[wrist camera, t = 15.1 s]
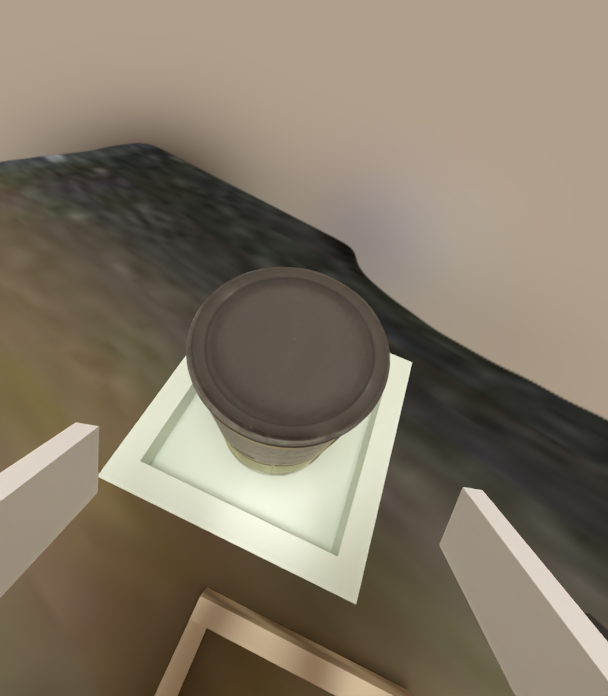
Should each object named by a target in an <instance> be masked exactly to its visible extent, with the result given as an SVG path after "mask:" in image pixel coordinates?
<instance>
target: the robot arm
mask: <svg viewBox="0 0 608 696" xmlns="http://www.w3.org/2000/svg"><path fill="white" fill-rule="evenodd" d="M98 447H99V426H94V425H88V424H82V423H74V424H73V425H71V426H70V427H68V428H67V429H65V430H64V431H62V432H61V433H59V434H58V435H56V436H55V437H53V438H52V439H50V440H49V441H47V442H46V443H44V444H43V445H41V446H40V447H38V448H37V449H35V450H34V451H32V452H31V453H29V454H28V455H26V456H25V457H23V458H22V459H20V460H19V461H17V462H16V463H14V464H13V465H11V466H10V467H8V468H7V469H5V470H4V471H2V472H1V473H0V598H1V597H2V596H3V594H4V593H5V592H6V591H7V590H8V589H9V588H10V587H11V586H12V585H13V584H14V583H15V581H16V580H17V579H18V578H19V577H20V576H21V575H22V574H23V573H24V572H25V571H26V570H27V568H28V567H29V566H30V565H31V564H32V563H33V562H34V561H35V560H36V559H37V558H38V557H39V555H40V554H41V553H42V552H43V551H44V550H45V549H46V548H47V547H48V546H49V545H50V544H51V543H52V541H53V540H54V539H55V538H56V537H57V536H58V535H59V534H60V533H61V532H62V531H63V530H64V528H65V527H66V526H67V525H68V524H69V523H70V522H71V521H72V520H73V519H74V518H75V517H76V515H77V514H78V513H79V512H80V511H81V510H82V509H83V508H84V507H85V506H86V505H87V504H88V502H89V501H90V500H91V499H92V498H93V497H94V496H95V495H96V494H97V493H98ZM440 547H441V549H442V551H443V553H444V555H445V557H446V559H447V561H448V563H449V565H450V567H451V569H452V571H453V573H454V575H455V577H456V579H457V581H458V583H459V585H460V587H461V589H462V591H463V593H464V595H465V597H466V599H467V601H468V603H469V605H470V607H471V609H472V611H473V613H474V615H475V617H476V619H477V621H478V623H479V625H480V627H481V629H482V631H483V633H484V635H485V637H486V639H487V641H488V643H489V645H490V647H491V649H492V651H493V653H494V655H495V656H496V658H497V660H498V662H499V664H500V666H501V668H502V670H503V672H504V674H505V676H506V678H507V680H508V682H509V684H510V686H511V688H512V690H513V692H514V694H515V696H608V630H607V629H606V628H605V627H604V626H603V625H601V624H600V623H599V622H598V621H597V620H596V619H595V618H594V617H593V616H591V615H590V614H587V613H584V612H583V611H582V610H581V609H580V608H579V606H578V605H577V604H576V603H575V602H574V600H573V599H572V598H571V597H570V596H569V594H568V593H567V592H566V591H565V590H564V588H563V587H562V586H561V585H560V583H559V582H558V581H557V580H556V579H555V577H554V576H553V575H552V574H551V573H550V571H549V570H548V569H547V568H546V567H545V565H544V564H543V563H542V562H541V561H540V559H539V558H538V557H537V556H536V554H535V553H534V552H533V551H532V550H531V548H530V547H529V546H528V545H527V544H526V542H525V541H524V540H523V539H522V538H521V536H520V535H519V534H518V533H517V532H516V530H515V529H514V528H513V527H512V526H511V524H510V523H509V522H508V521H507V519H506V518H505V517H504V516H503V515H502V513H501V512H500V511H499V510H498V509H497V507H496V506H495V505H494V504H493V503H492V501H491V500H490V499H489V498H488V497H487V495H486V494H485V493H484V492H483V490H477V489H471V488H465V487H463V488H462V490H461V493H460V495H459V498H458V500H457V503H456V505H455V508H454V510H453V512H452V515H451V517H450V520H449V522H448V525H447V527H446V530H445V532H444V535H443V537H442V540H441V542H440Z"/></svg>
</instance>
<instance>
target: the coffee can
mask: <svg viewBox="0 0 608 696" xmlns="http://www.w3.org/2000/svg"><path fill="white" fill-rule="evenodd" d="M186 359H187V367H188V372H189V375H190V378H191V381H192V384H193V386H194V388H195V390H196V392H197V394H198V396H199V398H200V399H201V401H202V402H203V404H204V405H205V406H206V407H207V408H208V410H209V411H210V412H211V414H212V416H213V418H214V420H215V422H216V423H217V425H218V428H219V429H220V431H221V433H222V435H223V437H224V439H225V442H226V444H227V446H228V448H229V450H230V451H231V453H232V454H233V456H234V457H235V458H236V459H237V460H238V461H239V462H240V463H241V464H242V465H244V466H245V467H247V468H248V469H250V470H252V471H255V472H257V473H260V474H264V475H270V476H285V475H289V474H293V473H296V472H298V471H300V470H303V469H304V468H306V467H308V466H309V465H310V464H312V463H313V462H314V461H315V460H316V459H317V458H318V457H319V456H320V454H322V453H323V452H324V451H325V450H326V449H327V448H328V447H329V446H331V445H332V444H333V443H334V442H335V441H336V440H337V439H339V438H340V436H342V435H344V434H346V433H348V432H349V431H351V430H352V429H353V428H355V427H356V426H358V425H359V424H360V423H361V422H362V421H363V420H364V419H365V418H366V417H367V416H368V415H369V414H370V413H371V411H372V410H373V409H374V407H375V406H376V405H377V403H378V401H379V400H380V398H381V396H382V393H383V391H384V389H385V387H386V383H387V380H388V376H389V369H390V351H389V346H388V342H387V338H386V335H385V332H384V330H383V327H382V325H381V323H380V321H379V319H378V317H377V316H376V314H375V313H374V311H373V310H372V309H371V307H370V306H369V305H368V304H367V303H366V301H365V300H364V299H363V298H361V297H360V295H358V294H357V293H355V292H354V291H353V290H352V289H351V288H349V287H347V286H346V285H344V284H343V283H341V282H339V281H337V280H335V279H334V278H331V277H329V276H327V275H325V274H322V273H319V272H315V271H312V270H307V269H303V268H295V267H271V268H263V269H259V270H255V271H251V272H248V273H245V274H242V275H240V276H238V277H236V278H234V279H232V280H230V281H228V282H226V283H225V284H223V285H222V286H220V287H219V288H218V289H217V290H215V291H214V292H213V293H212V294H211V295H210V296H209V297H208V298H207V299H206V300H205V302H204V303H203V304H202V305H201V307H200V308H199V310H198V311H197V313H196V315H195V317H194V319H193V321H192V324H191V326H190V329H189V333H188V338H187V343H186Z"/></svg>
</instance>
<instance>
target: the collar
mask: <svg viewBox="0 0 608 696" xmlns="http://www.w3.org/2000/svg"><path fill="white" fill-rule="evenodd" d="M206 629H209V630H211V631H213V632H215V633H217V634H219V635H221V636H223V637H225V638H227V639H228V640H230V641H232V642H234V643H236V644H238V645H240V646H242V647H244V648H246V649H248V650H249V651H251V652H253V653H255V654H257V655H259V656H261V657H263V658H265V659H267V660H268V661H270V662H272V663H274V664H276V665H278V666H280V667H282V668H284V669H286V670H288V671H289V672H291V673H293V674H295V675H297V676H299V677H301V678H303V679H305V680H307V681H308V682H310V683H312V684H314V685H316V686H318V687H320V688H322V689H324V690H326V691H328V692H329V693H331V694H333V695H335V696H412V695H411V694H410V693H409V691H408V690H407V689H405V688H403V687H401V686H399V685H397V684H395V683H393V682H391V681H389V680H387V679H385V678H383V677H381V676H379V675H377V674H375V673H373V672H371V671H369V670H367V669H366V668H364V667H362V666H360V665H358V664H356V663H354V662H352V661H350V660H348V659H346V658H344V657H342V656H340V655H338V654H336V653H334V652H332V651H330V650H328V649H327V648H325V647H323V646H321V645H319V644H317V643H315V642H313V641H311V640H309V639H307V638H305V637H303V636H301V635H299V634H297V633H295V632H293V631H291V630H289V629H287V628H286V627H284V626H282V625H280V624H278V623H276V622H274V621H272V620H270V619H268V618H266V617H264V616H262V615H260V614H258V613H256V612H254V611H252V610H250V609H248V608H246V607H245V606H243V605H241V604H239V603H237V602H235V601H233V600H231V599H229V598H227V597H225V596H223V595H221V594H219V593H217V592H215V591H213V590H211V589H209V588H207V587H206V588H205V590H204V591H203V593H202V594H201V596H200V598H199V600H198V602H197V604H196V606H195V608H194V611H193V613H192V615H191V617H190V619H189V622H188V624H187V626H186V628H185V630H184V632H183V635H182V637H181V639H180V641H179V643H178V646H177V648H176V650H175V652H174V654H173V656H172V659H171V661H170V663H169V665H168V667H167V670H166V672H165V674H164V676H163V678H162V680H161V683H160V685H159V687H158V689H157V691H156V693H155V696H178V694H179V692H180V689H181V687H182V685H183V682H184V680H185V678H186V675H187V673H188V671H189V668H190V666H191V664H192V661H193V659H194V657H195V654H196V652H197V650H198V647H199V645H200V643H201V640H202V638H203V636H204V633H205V631H206Z"/></svg>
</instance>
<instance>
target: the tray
mask: <svg viewBox="0 0 608 696" xmlns="http://www.w3.org/2000/svg"><path fill="white" fill-rule="evenodd" d="M411 365H412V362H410V361H407V360H405V359H403V358H400V357H398V356H395V355H393V354H391V353H390V369H389V376H388V380H387V383H386V387H385V389H384V391H383V393H382V396H381V398H380V400H379V401H378V403H377V405H376V406H375V407H374V409H373V410H372V411H371V413H370V414H369V415H368V416H367V417H366V418H365V419H364V420H363V421H362V422H361V423H360V424H359V425H358V426H356V427H355V428H353V429H352V430H351V431H349V432H348V433H346V434H344V435H342V436H340V438H339V439H337V440H336V441H335V442H334V443H333V444H332V445H331V446H329V447H328V448H327V449H326V450H325V451H324V452H323V453H322V454H320V456H319V457H318V458H317V459H316V460H315V461H314V462H313V463H312V464H310V465H309V466H308V467H306V468H304V469H303V470H300V471H298V472H296V473H293V474H289V475H285V476H270V475H264V474H260V473H257V472H255V471H252V470H250V469H248V468H247V467H245V466H244V465H242V464H241V463H240V462H239V461H238V460H237V459H236V458H235V457H234V456H233V454H232V453H231V451H230V450H229V448H228V446H227V444H226V442H225V439H224V437H223V435H222V433H221V431H220V429H219V428H218V425H217V423H216V422H215V420H214V418H213V416H212V414H211V412H210V411H209V410H208V408H207V407H206V406H205V405H204V404H203V402H202V401H201V399H200V398H199V396H198V394H197V392H196V390H195V388H194V386H193V384H192V381H191V378H190V375H189V372H188V367H187V359H186V356H185V358H184V359H183V360H182V362H181V363H180V364H179V366H178V367H177V368H176V370H175V371H174V373H173V374H172V375H171V377H170V378H169V379H168V381H167V382H166V383H165V385H164V386H163V388H162V389H161V390H160V392H159V393H158V394H157V396H156V397H155V398H154V400H153V401H152V403H151V404H150V405H149V407H148V408H147V409H146V411H145V412H144V413H143V415H142V416H141V418H140V419H139V420H138V422H137V423H136V424H135V426H134V427H133V428H132V430H131V431H130V433H129V434H128V435H127V437H126V438H125V439H124V441H123V442H122V443H121V445H120V446H119V448H118V449H117V450H116V452H115V453H114V454H113V456H112V457H111V458H110V460H109V461H108V463H107V464H106V465H105V467H104V468H103V469H102V471H101V472H100V473H99V475H98V477H100V478H102V479H104V480H106V481H108V482H110V483H112V484H114V485H116V486H118V487H120V488H122V489H124V490H126V491H128V492H130V493H132V494H134V495H136V496H138V497H140V498H142V499H144V500H146V501H148V502H150V503H152V504H154V505H156V506H158V507H160V508H162V509H164V510H166V511H168V512H170V513H172V514H174V515H176V516H178V517H180V518H182V519H184V520H186V521H188V522H191V523H193V524H195V525H197V526H199V527H201V528H203V529H205V530H207V531H209V532H211V533H213V534H215V535H217V536H219V537H221V538H223V539H225V540H227V541H229V542H231V543H233V544H235V545H237V546H239V547H241V548H243V549H245V550H247V551H249V552H251V553H253V554H255V555H257V556H259V557H261V558H263V559H265V560H267V561H269V562H271V563H273V564H275V565H277V566H279V567H281V568H283V569H285V570H287V571H289V572H291V573H293V574H296V575H298V576H300V577H302V578H304V579H306V580H308V581H310V582H312V583H314V584H316V585H318V586H320V587H322V588H324V589H326V590H328V591H330V592H332V593H334V594H336V595H338V596H340V597H342V598H344V599H346V600H348V601H350V602H352V603H354V604H356V603H357V599H358V594H359V590H360V586H361V581H362V577H363V573H364V568H365V564H366V560H367V555H368V551H369V547H370V542H371V538H372V534H373V529H374V525H375V521H376V516H377V512H378V508H379V503H380V499H381V495H382V490H383V486H384V482H385V477H386V473H387V469H388V464H389V460H390V456H391V451H392V447H393V443H394V439H395V434H396V430H397V426H398V421H399V417H400V413H401V408H402V404H403V400H404V395H405V391H406V387H407V382H408V378H409V374H410V369H411Z"/></svg>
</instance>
